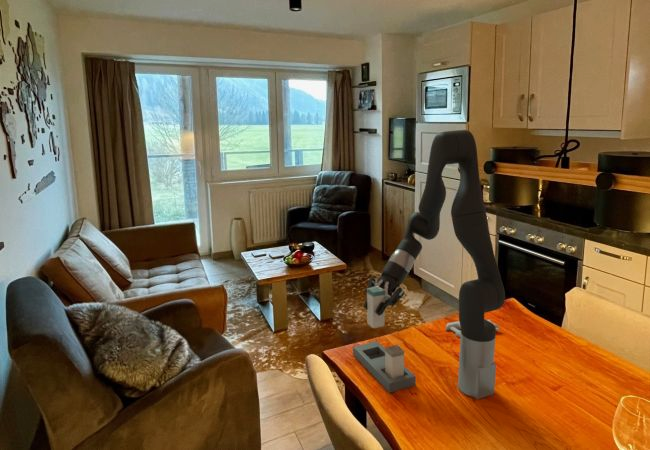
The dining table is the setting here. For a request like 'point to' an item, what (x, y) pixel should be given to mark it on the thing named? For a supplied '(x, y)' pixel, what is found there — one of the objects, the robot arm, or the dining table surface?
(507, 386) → the dining table surface
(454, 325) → the gun
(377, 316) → the plug
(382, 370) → the two-hole peg board
